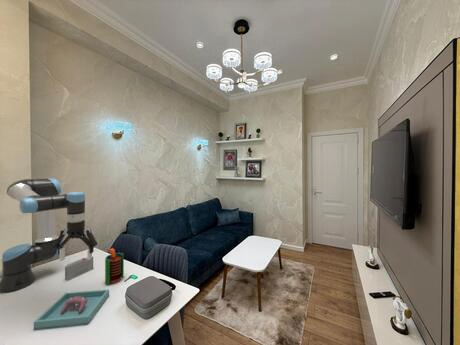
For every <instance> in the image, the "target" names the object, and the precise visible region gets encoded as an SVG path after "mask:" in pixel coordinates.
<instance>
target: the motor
mask: <svg viewBox="0 0 460 345" xmlns="http://www.w3.org/2000/svg"><path fill="white" fill-rule="evenodd" d="M124 256H125V255H124V253H123V252H116V250H115V249H114V248H110V249H108V255H107V256H106V257H105V259H104V260H105V261H104V265H105V266H104V268H105V269H104V272H105V273H104V274H105V275H104V280H105V282H104V284H105V285H106V286H110V285H115V284H118V283H120V282H122V279H123V277H124V275H125V274H124V272H125V270H124V268H125V267H124V266H125V265H124V263H125V262H124V261H125V258H124Z"/></svg>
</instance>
